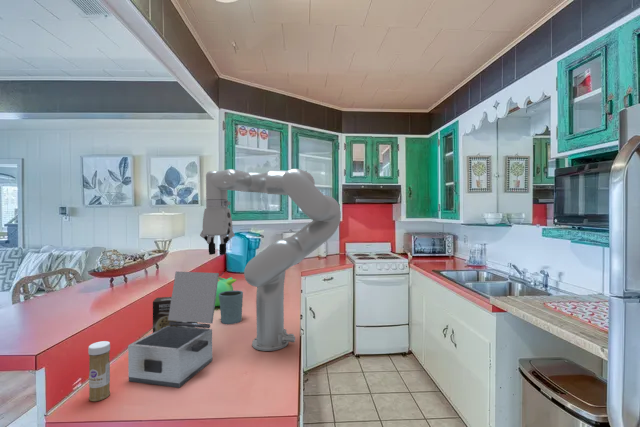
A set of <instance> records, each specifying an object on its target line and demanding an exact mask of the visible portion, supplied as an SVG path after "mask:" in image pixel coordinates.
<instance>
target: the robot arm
mask: <svg viewBox="0 0 640 427" xmlns="http://www.w3.org/2000/svg"><path fill="white" fill-rule="evenodd" d="M228 191H234V192H235V191H236V192H243V193H244V192H245V193H260V194H261V193H262V194H263V193H264V194H267V195H277V196H278V195H280V196H281V195H282V196H288V197H289V198H290V200H292V201H293V202H294V203H295V205H296V206H297V207H298V208H299V210H300V211H302V213H303V214H304V215H305V216H307V218H309V219H310V220H312V221H310V222H308V224H306V225H304V226H303V227H302V228H301V229H300V230H298V231H297V232H296V233H294V234H292V235H291V236H288V237H284V238H280V239H278V240H275V241H274V242H272V243H271V244H269V245H268V246H267V247H266V248H264V249H263V250H261V251H260V252H259V253H257V254H256V255H255V256H254V257H252V258H251V259H250V260H249V261H248V262H247V264H246V265H245V268H244V270H243V273H244V274H243V276H244V279H245V281H246V282H247V283H248V285H250V286H252V287H255V288H256V293H255V294H256V298H255V300H256V301H255V302H256V306H255V307H256V310H255V311H256V337H255V338H254V339H252V342H251V343H252V345H251V346H252V347H253V349H255V350H258V351H260V352H261V351H263V352H273V351H278V350H282V349H283V348H284V349H285V347H287V346H288V345H289V343H295V342H296V336H295V335H294V333H288V332H287V328H285V321H284V320H285V318H284V316H285V312H284V311H285V310H284V307H285V305H284V302H285V301H284V299H285V298H284V296H285V294H284V293H285V292H284V291H285V290H284V289H285V288H284V287H285V280H286V271H287V270H288V269H290V268H291V267H293V266H296V265H297V264H300V263H301V262H302V261H303V260H304V259H305V258H307V257H308V256H309V255H311V254H312V253H313V252H314V251H316V250H317V249H318V248H319V247H321V246H322V245H323V244H325V243H326V242H327V241H328V240H329V239H331V238H332V237H333V235H334V234H335V233H336V231H337V230H338V228H339V226H340V223H341V216H342V215H341V208H340V204H339V203H338V201H337V200H336V199H335V198H334V197H333V196H331V195H324V194H323V192H321V191H320V190H319V188H317V186H316V184H315V179H314V177H313V175H312V174H311V173H309V172H307V171H306V170H303V169H299V168H290V169H288V170H280V169H270V170H268V171H266V172H246V171H243V170H238V169H233V168H228V169H223V170H209V171H208V172H206V174H205V201H206V202H205V207H206V208H204V212H203V217H202V230H201V232H200V234H199V236H200V237H201V238H203V239H204V241H206V243H207V245H208V254H209V255H215V254H216V243H215V238H216V237H215V236H219V239H220V243H219V245H218V246H219V255H220V256H223V255H226V252H227V244H228V242H229V241H230V240H231V239H232V238H234V237H235V233H234V231H233V219H232V214H231V210H230V208H229V206H230V205H231V201H229V200H228Z"/></svg>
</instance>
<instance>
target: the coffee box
mask: <svg viewBox="0 0 640 427" xmlns="http://www.w3.org/2000/svg"><path fill="white" fill-rule="evenodd" d="M171 298H172V296H162V297H155V299H154V300H153V301H152V333H154V332H156V331H158V330H160V329H162V328H164V327H166V326H168V325H169V322H170V321H172V320H168V317H169V311H170V304H171ZM174 322H182V321H174ZM169 326H175V325H169ZM181 327H183V326H181Z"/></svg>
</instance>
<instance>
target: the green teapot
mask: <svg viewBox="0 0 640 427" xmlns="http://www.w3.org/2000/svg"><path fill="white" fill-rule="evenodd" d="M236 281H237V279H236V278H233V276H232V277H228V278H224V277H221V276H218V284H217V292H216V300H215V307H220V301H219V293H221V292H225V291H234V287H233V284H234V283H235V282H236Z"/></svg>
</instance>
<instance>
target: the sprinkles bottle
mask: <svg viewBox="0 0 640 427" xmlns="http://www.w3.org/2000/svg"><path fill="white" fill-rule="evenodd" d="M87 352H88V353H87V354H88V356H89V358H88V359H89V361H88V364H89V366H88V370H89V371H88V372H89V373H88V387H89V388H88V389H89V390H88V393H89V396H88V400H89V401H90V402H99V401H103V400H104V399H107V398H108V397H109V396H110V395H111V391H110V388H111V387H110V386H111V385H110V383H111V372H110V371H111V370H110V369H111V368H110V367H111V363H110V362H111V361H110V352H111V342H110V341H107V340H103V341H101V340H100V341H97V342H93V343H91V344H90V345H88V350H87Z"/></svg>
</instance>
